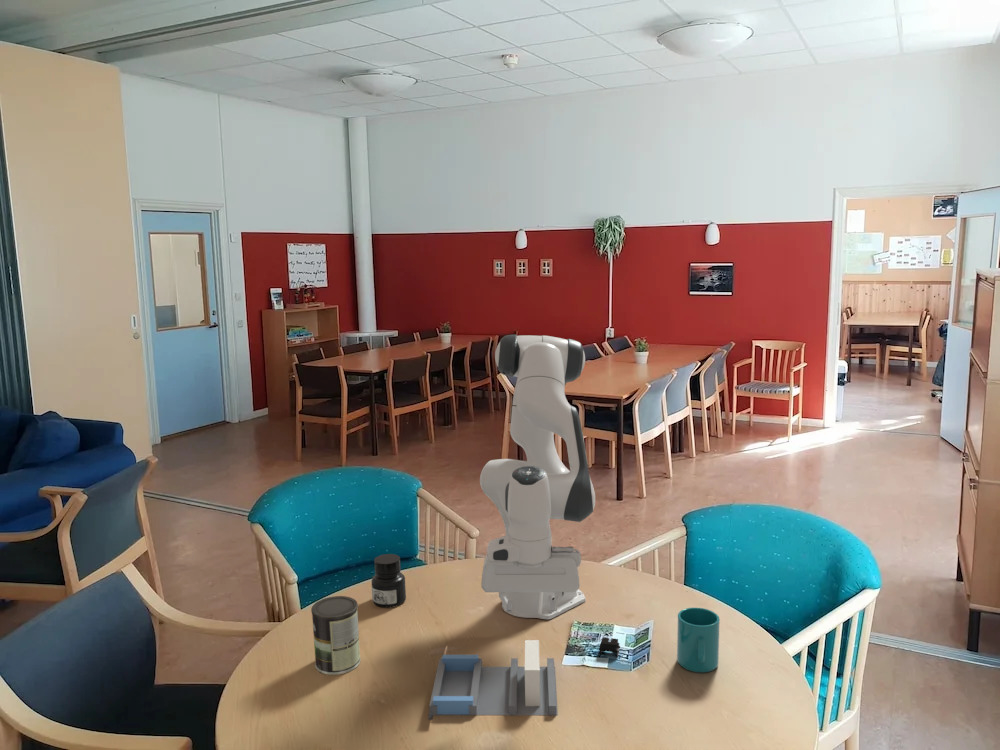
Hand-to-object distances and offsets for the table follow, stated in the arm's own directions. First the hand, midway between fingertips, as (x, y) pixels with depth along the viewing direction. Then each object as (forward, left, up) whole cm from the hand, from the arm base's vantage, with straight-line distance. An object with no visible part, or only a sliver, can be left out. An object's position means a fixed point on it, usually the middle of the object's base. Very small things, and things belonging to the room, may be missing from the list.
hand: (530, 610), depth 162 cm
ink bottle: (+6, -58, -19) cm, 61 cm away
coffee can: (+29, -36, -19) cm, 50 cm away
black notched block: (-23, -2, -20) cm, 30 cm away
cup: (-37, +12, -19) cm, 43 cm away
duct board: (+6, -5, -19) cm, 21 cm away
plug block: (0, 0, -18) cm, 18 cm away
